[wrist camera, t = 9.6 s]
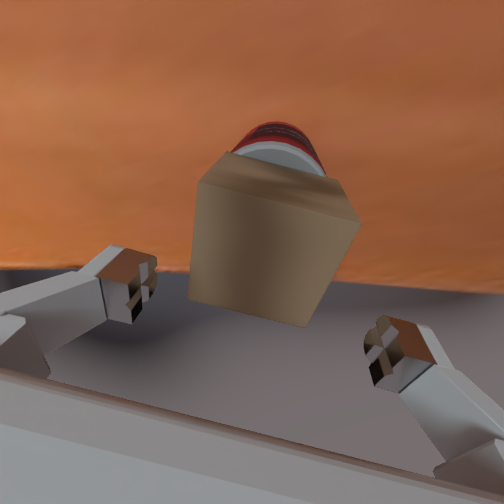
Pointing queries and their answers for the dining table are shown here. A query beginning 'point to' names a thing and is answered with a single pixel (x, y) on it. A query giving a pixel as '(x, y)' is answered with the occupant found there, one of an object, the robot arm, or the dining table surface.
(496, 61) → the dining table surface
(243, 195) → the walnut block
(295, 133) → the canned food
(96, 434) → the robot arm
